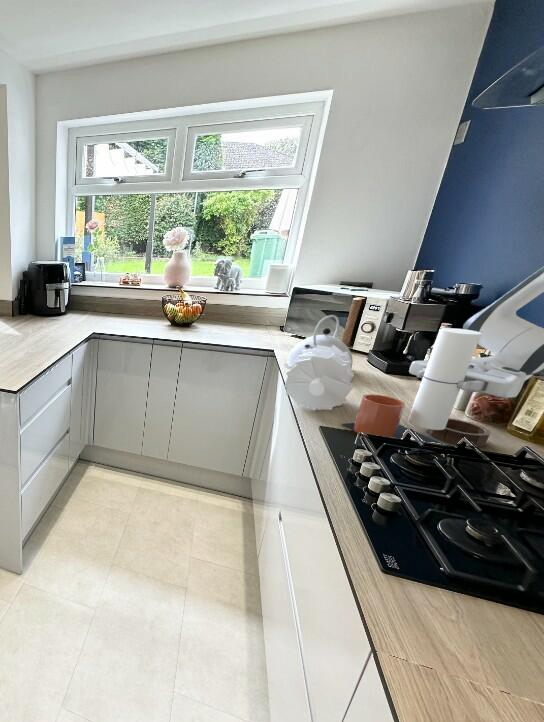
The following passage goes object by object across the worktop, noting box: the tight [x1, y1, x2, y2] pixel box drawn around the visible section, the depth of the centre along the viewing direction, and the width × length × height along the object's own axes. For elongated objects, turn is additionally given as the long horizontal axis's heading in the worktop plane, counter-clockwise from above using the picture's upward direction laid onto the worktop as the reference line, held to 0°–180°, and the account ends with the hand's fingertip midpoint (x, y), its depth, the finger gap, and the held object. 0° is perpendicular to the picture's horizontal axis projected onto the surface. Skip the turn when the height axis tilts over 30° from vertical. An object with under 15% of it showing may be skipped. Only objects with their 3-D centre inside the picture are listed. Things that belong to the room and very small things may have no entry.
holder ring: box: [426, 417, 492, 448], centre depth 108 cm, size 11×11×4 cm
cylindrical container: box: [407, 327, 481, 430], centre depth 101 cm, size 7×7×25 cm
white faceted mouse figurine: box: [283, 345, 355, 412], centre depth 131 cm, size 18×18×25 cm
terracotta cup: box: [354, 393, 406, 437], centre depth 110 cm, size 9×9×10 cm
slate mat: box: [341, 422, 444, 444], centre depth 109 cm, size 18×16×1 cm
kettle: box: [286, 314, 354, 371], centre depth 166 cm, size 25×23×22 cm
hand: (440, 379), depth 101 cm, fingers closed on cylindrical container, 7 cm apart
